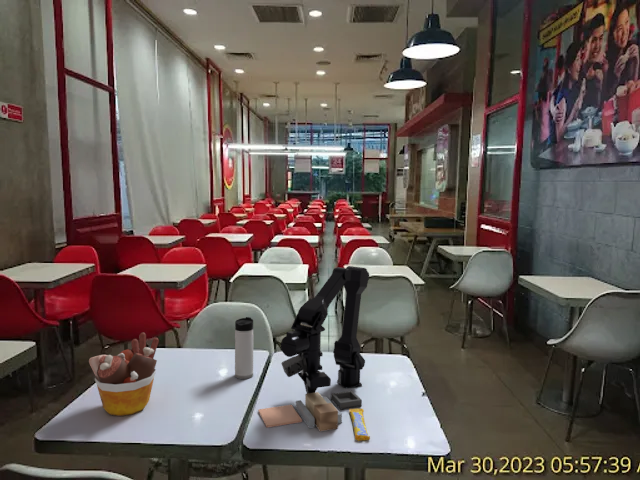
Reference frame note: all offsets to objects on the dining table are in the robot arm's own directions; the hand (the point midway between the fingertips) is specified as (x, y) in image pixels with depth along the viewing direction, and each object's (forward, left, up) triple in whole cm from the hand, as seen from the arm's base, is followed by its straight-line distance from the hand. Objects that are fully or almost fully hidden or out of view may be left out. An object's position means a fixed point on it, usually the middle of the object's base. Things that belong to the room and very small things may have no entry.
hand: (309, 398), depth 137 cm
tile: (+10, +4, -2) cm, 11 cm away
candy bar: (-9, +16, -3) cm, 18 cm away
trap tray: (-11, +2, -2) cm, 11 cm away
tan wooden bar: (0, +6, -2) cm, 6 cm away
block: (0, +13, -2) cm, 13 cm away
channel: (0, +7, -2) cm, 7 cm away
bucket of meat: (+51, -16, -2) cm, 53 cm away
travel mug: (+14, -29, -2) cm, 32 cm away
